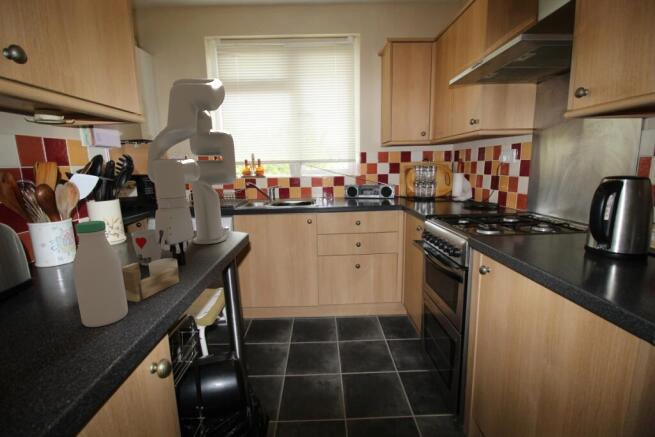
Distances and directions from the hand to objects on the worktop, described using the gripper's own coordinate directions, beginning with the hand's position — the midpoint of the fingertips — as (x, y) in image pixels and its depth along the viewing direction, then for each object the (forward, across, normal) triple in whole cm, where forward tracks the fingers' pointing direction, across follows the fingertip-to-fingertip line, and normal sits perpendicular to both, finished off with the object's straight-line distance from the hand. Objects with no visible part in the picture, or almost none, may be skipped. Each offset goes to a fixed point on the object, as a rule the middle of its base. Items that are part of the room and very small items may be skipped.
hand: (179, 265), depth 91 cm
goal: (+1, +14, 0) cm, 14 cm away
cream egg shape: (+1, +6, 0) cm, 6 cm away
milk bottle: (+2, +28, +8) cm, 29 cm away
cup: (+1, -2, -14) cm, 14 cm away
